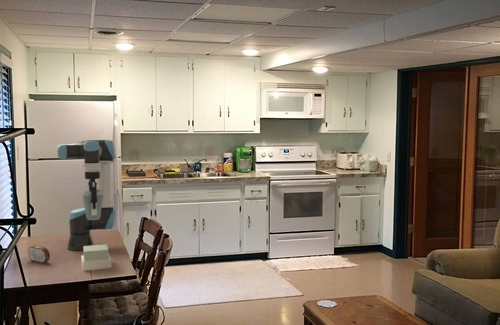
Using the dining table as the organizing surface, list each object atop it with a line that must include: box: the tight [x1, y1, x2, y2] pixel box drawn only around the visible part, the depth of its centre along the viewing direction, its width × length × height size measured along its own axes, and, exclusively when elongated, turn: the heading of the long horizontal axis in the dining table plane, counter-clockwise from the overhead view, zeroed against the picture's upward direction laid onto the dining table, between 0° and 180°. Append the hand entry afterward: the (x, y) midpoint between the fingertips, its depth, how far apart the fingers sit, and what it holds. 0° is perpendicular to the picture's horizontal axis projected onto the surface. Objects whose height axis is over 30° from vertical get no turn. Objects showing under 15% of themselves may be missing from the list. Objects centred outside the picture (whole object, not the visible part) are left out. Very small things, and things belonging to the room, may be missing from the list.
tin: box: [27, 244, 51, 264], centre depth 278 cm, size 15×3×8 cm, turn 59°
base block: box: [80, 252, 112, 272], centre depth 270 cm, size 14×14×5 cm
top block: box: [82, 244, 109, 261], centre depth 270 cm, size 12×12×5 cm
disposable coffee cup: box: [81, 190, 103, 220], centre depth 267 cm, size 11×11×15 cm
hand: (93, 213), depth 268 cm, fingers closed on disposable coffee cup, 11 cm apart
